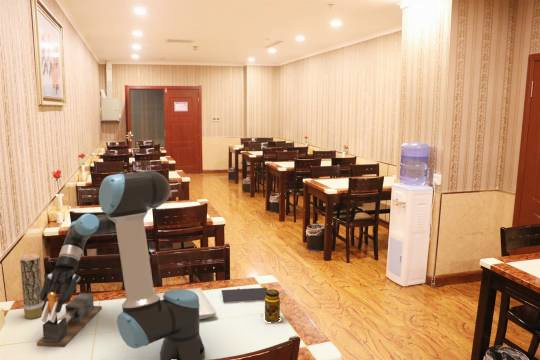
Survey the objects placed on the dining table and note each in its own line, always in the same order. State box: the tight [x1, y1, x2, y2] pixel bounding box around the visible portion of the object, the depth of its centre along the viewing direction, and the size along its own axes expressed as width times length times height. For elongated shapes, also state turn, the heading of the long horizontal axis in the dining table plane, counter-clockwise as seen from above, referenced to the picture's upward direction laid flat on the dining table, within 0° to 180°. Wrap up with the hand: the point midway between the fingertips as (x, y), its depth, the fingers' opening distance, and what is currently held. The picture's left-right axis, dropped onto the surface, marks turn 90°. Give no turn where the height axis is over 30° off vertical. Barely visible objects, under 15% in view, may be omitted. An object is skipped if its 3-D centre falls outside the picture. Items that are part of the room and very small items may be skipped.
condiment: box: [261, 289, 284, 324], centre depth 180 cm, size 7×8×12 cm
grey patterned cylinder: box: [19, 253, 44, 320], centre depth 178 cm, size 7×7×25 cm
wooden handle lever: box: [47, 292, 77, 325], centre depth 165 cm, size 18×3×16 cm, turn 176°
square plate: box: [155, 287, 217, 320], centre depth 186 cm, size 27×27×4 cm
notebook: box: [221, 287, 269, 304], centre depth 202 cm, size 13×2×21 cm
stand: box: [36, 292, 103, 348], centre depth 172 cm, size 30×10×8 cm, turn 176°
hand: (47, 320), depth 155 cm, fingers closed on wooden handle lever, 2 cm apart
